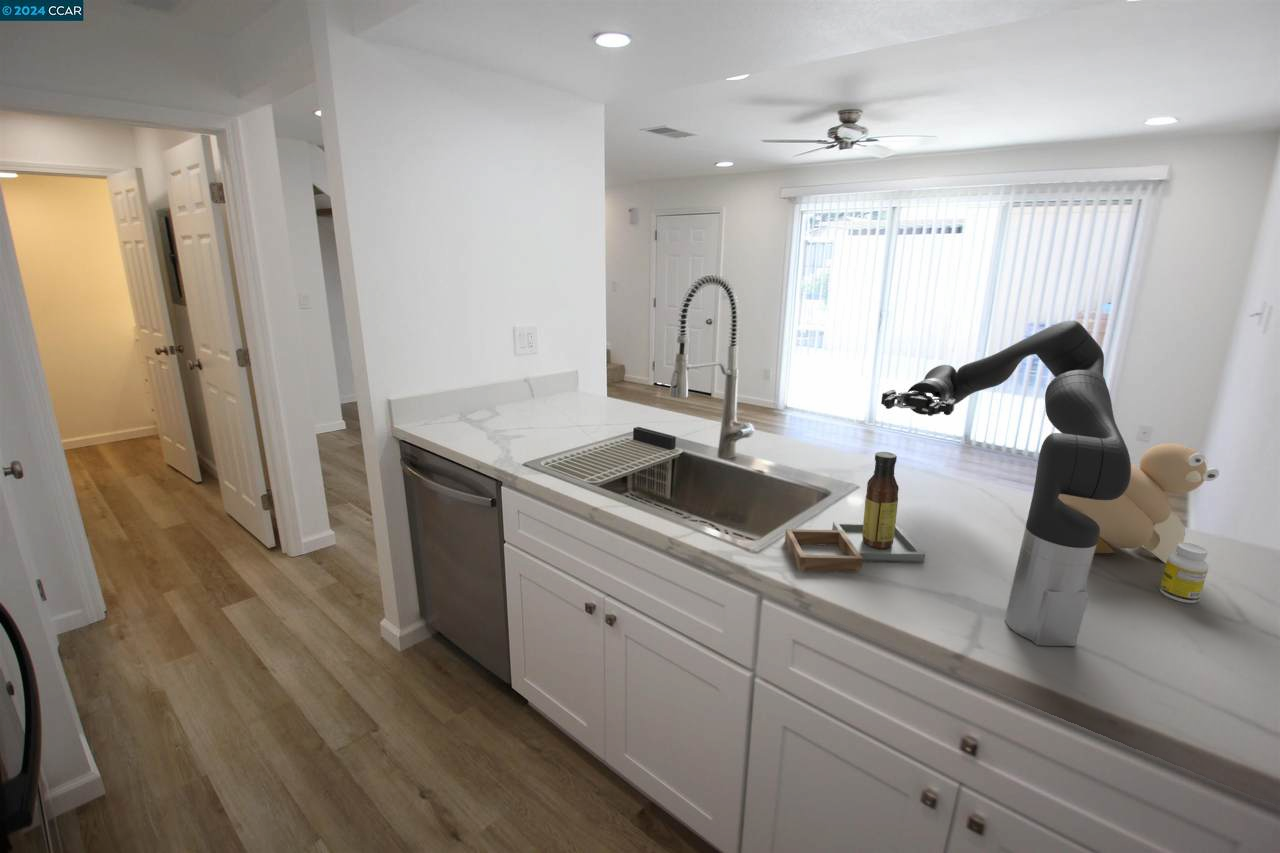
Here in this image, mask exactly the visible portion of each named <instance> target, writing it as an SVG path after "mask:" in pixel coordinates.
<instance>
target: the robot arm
mask: <svg viewBox="0 0 1280 853" xmlns="http://www.w3.org/2000/svg"><path fill="white" fill-rule="evenodd" d="M1033 355H1036V356H1037V357H1038V358H1039V360H1041V362H1042V363H1043V364H1044V365H1045V367H1046V368H1047V369H1048V370H1049V371H1050V373H1051V374H1052V375H1053V376H1054V378H1053V379H1052V380H1051V381H1050V383H1049V384H1048V385H1047V387H1046V389H1045V394H1044V402H1045V404H1044V405H1045V407H1044V408H1045V413H1046V414H1045V415H1046V416H1047V419H1048V421H1049V422H1050V423H1051V424H1052V426H1053V427H1054V428H1055V429H1056V430H1057V431H1059V432H1053V433H1050V434H1048V435H1047V436H1046V438H1044V440H1043V442H1042V444H1041V447H1040V451H1039V456H1038V459H1037V467H1036V475H1035V480H1034V486H1033V487H1034V488H1033V493H1032V496H1031V502H1030V507H1029V509H1028V510H1029V512H1028V515H1027V520H1026V523H1025V526H1024V527H1025V528H1024V532H1023V535H1022V536H1023V537H1022V541H1021V545H1020V550H1019V554H1018V558H1017V562H1016V567H1015V572H1014V576H1013V579H1012V580H1013V581H1012V586H1011V589H1010V593H1009V598H1008V604H1007V608H1006V613H1005V618H1004V620H1005V623H1006V624H1007V626H1008V627H1009V628H1010V629H1011V630H1013V632H1015V633H1016V634H1018V635H1020V636H1021V637H1023V638H1025V639H1027V640H1030V641H1032V642H1033V643H1034V644H1035V645H1036V646H1047V647H1048V646H1049V647H1051V646H1052V647H1076V644H1077V641H1078V637H1079V634H1080V630H1081V628H1082V627H1081V626H1082V624H1083V623H1082V622H1083V620H1084V619H1083V618H1084V615H1085V611H1086V607H1087V603H1088V600H1089V596H1090V594H1089V593H1088V592H1087V591H1086V590H1085V589H1086V585H1087V582H1088V578H1089V574H1090V570H1091V567H1092V564H1093V560H1094V556H1095V554H1096V553H1095V549H1096V545H1097V542H1098V538H1099V535H1100V527H1099V525H1098V524H1097V523H1096V522H1095V521H1094V520H1093V519H1091V518H1090V517H1088V516H1087V515H1085V514H1083V513H1081V512H1079V511H1076V510H1074V509H1073V508H1071V507H1069V506H1067V505H1066V504H1065V503H1063V502H1062V501H1061V500H1060V499H1059V498H1058V496H1059V494H1065V495H1070V496H1076V497H1082V498H1089V499H1094V500H1113V499H1117V498H1119V497H1120V496H1121V495H1123V493H1124V492H1125V491H1126V489H1127V488H1128V485H1129V482H1130V477H1131V464H1132V462H1131V457H1130V454H1129V449H1128V447H1127V445H1126V442H1125V440H1124V438H1123V436H1122V434H1121V432H1120V430H1119V427H1118V426H1117V423H1116V420H1115V416H1114V412H1113V411H1114V410H1113V405H1112V404H1113V403H1112V399H1111V394H1110V391H1109V388H1108V386H1107V382H1106V378H1105V377H1104V366H1105V354H1104V352H1103V350H1102V348H1101V346H1100V344H1099V343H1098V342H1097V341H1096V340H1095V339H1094V338H1093V336H1092V335H1091V334H1090V332H1089V331H1088V330H1087V329H1086V328H1085V327H1084V326H1083V325H1082V324H1081V323H1080V322H1078V321H1077V320H1064V321H1061V322H1058V323H1056V324H1053V325H1050V326H1048V327H1046V328H1044V329H1041V330H1040V331H1038V332H1036V333H1034V334H1032V335H1029V336H1028V337H1026V338H1024V339H1021V340H1020V341H1017V342H1016V343H1013V344H1012V345H1010V346H1008V347H1006V348H1005V349H1002V350H1001V351H999V352H996V353H994V354H991V355H989V356H986V357H984V358H981V359H978V360H975V361H971V362H969V363H966V364H963V365H961V366H960V367H959V368H958V370H957V369H955V367H953V366H952V365H950V364H941V365H937V366H935V367H933V368H932V369H930V370H929V371H928V372H927V373H926V374H925V377H924V378H923V380H921V381H919V382H917V383H915V384H913V385H912V386H910V387H909V389H908V391H900V392H898V393H897V391H896V390H895V389H889V390H887V391H885V392H883V393H882V394H881V395H882V396H881V402H880V404H881V405H883V406H884V407H885V409H887V410H891V409H892V408H894V407H896V408H899V409H910V410H911V411H912V412H914V413H916V414H917V415H923V416H925V415H927V416H929V417H932V416H934V415H940V414H941V413H943V415H945V416H950V415H951V414H952V413H953V412H954V410H955V405H957V404H958V403H960V402H962V401H963V400H964V399H966V398H967V397H969V396H970V395H972V394H975V393H976V392H980V391H983V390H986V389H990V388H991V389H992V388H994V387H997V386H999V385H1001V384H1003V383H1004V382H1005V381H1008V379H1009V378H1010V377H1011V376H1012V375H1013V374H1014V372H1015V370H1016V369H1017V367H1018V366H1019V364H1020V363H1021V362H1022V361H1023V360H1024V359H1026V358H1027V357H1030V356H1033ZM896 400H897V401H896Z"/></svg>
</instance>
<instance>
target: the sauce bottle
mask: <svg viewBox="0 0 1280 853" xmlns="http://www.w3.org/2000/svg"><path fill="white" fill-rule="evenodd" d="M897 457H898V456H897V454H895V453H892V452H888V451H878V452H876V453H875V454H874V461H875V463H874V470H873V475H872V476H871V477H870V478H869V480H868V481H867V484H866V495H865V500H864V511H863V512H864V514H863V522H862V523H863V531H862V535H863V541H864V543H865V544H866V545H869V546H872V547H874V548H879V549H886V548H890V547H891V546H892V544H893V539H894V534H895V524H897V522H896V521H897V515H898V514H897V512H898V504H899V495H898V494H899V489H900V488H899V485H898V483H897V480H896V477H895V469H896V468H895V467H896V463H897V461H898V460H897Z"/></svg>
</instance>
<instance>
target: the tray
mask: <svg viewBox="0 0 1280 853" xmlns="http://www.w3.org/2000/svg"><path fill="white" fill-rule="evenodd" d="M831 530H843V532H844V533H845V534H846V536H847V537H848V539H849V540H850V541H851V543H852V544H853V545H854V547H855V548H856V550H857V551H858V552H859V554H860V555H861V556H862V558H863V562H862V563H889V564H893V563H894V564H895V563H896V564H924V563H925V558H926V554H925V552H923V550H922V549H921V548H920V547H919V546H918V545H917V544H916V543H915V542H914V540H912V539H911V538H910V537H909V536H908V534H906V532H905V531H904V530H903V529H902V528H901V527H900V525H898V524H897V523H896V524H895V534H894V539H893V544H892V546H891V547H890V548H886V549H879V548H874V547H872V546H869V545H866V544H865V543H864V541H863V535H862V531H863V522H846V521H845V522H844V521H843V522H841V521H840V522H839V521H836V522H835V521H833V522H832V529H831Z"/></svg>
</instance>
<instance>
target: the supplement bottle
mask: <svg viewBox="0 0 1280 853" xmlns="http://www.w3.org/2000/svg"><path fill="white" fill-rule="evenodd" d="M1207 555H1208V550H1207V549H1206V548H1204V547H1203V546H1200V545H1197V544H1194V543H1190V542H1189V543H1188V542H1183V543H1178V545H1177V548H1176V553H1173V554H1171V555H1170V556H1169V557H1168V560H1167V563H1165V567H1164V571H1163V575H1162V578H1161V582H1160V584H1159V588H1158V589H1159V591H1160V593H1161V594H1163V595H1164V596H1165V597H1167V598H1169V599H1171V600H1174V601H1178V602H1181V603H1187V604H1191V603H1192V604H1194V603H1195V604H1196V603H1197V602H1198V601H1199V599H1200V597H1201V592H1202V590H1203V588H1204V584H1205V581H1206V578H1207V574H1208V571H1209V567H1210V566H1209V564H1208V563H1207V561H1206V559H1207Z"/></svg>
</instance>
